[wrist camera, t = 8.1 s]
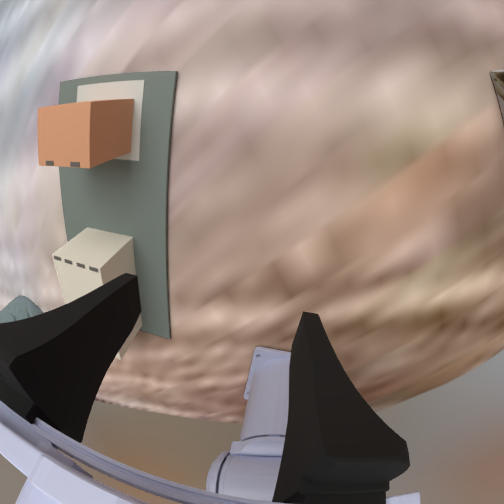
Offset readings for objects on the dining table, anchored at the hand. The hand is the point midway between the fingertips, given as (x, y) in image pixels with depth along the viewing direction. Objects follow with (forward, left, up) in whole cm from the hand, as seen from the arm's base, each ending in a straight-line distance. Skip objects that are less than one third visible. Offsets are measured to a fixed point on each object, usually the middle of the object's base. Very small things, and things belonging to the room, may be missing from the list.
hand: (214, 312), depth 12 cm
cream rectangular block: (-8, +12, -10) cm, 17 cm away
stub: (+6, +12, -10) cm, 17 cm away
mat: (-2, +12, -10) cm, 16 cm away
